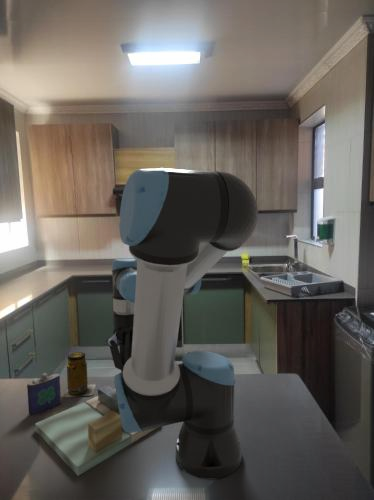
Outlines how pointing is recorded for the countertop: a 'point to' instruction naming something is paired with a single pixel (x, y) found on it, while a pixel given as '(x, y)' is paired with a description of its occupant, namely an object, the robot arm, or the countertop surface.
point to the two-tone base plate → (86, 434)
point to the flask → (44, 394)
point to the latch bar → (108, 398)
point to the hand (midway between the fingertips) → (128, 388)
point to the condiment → (78, 376)
